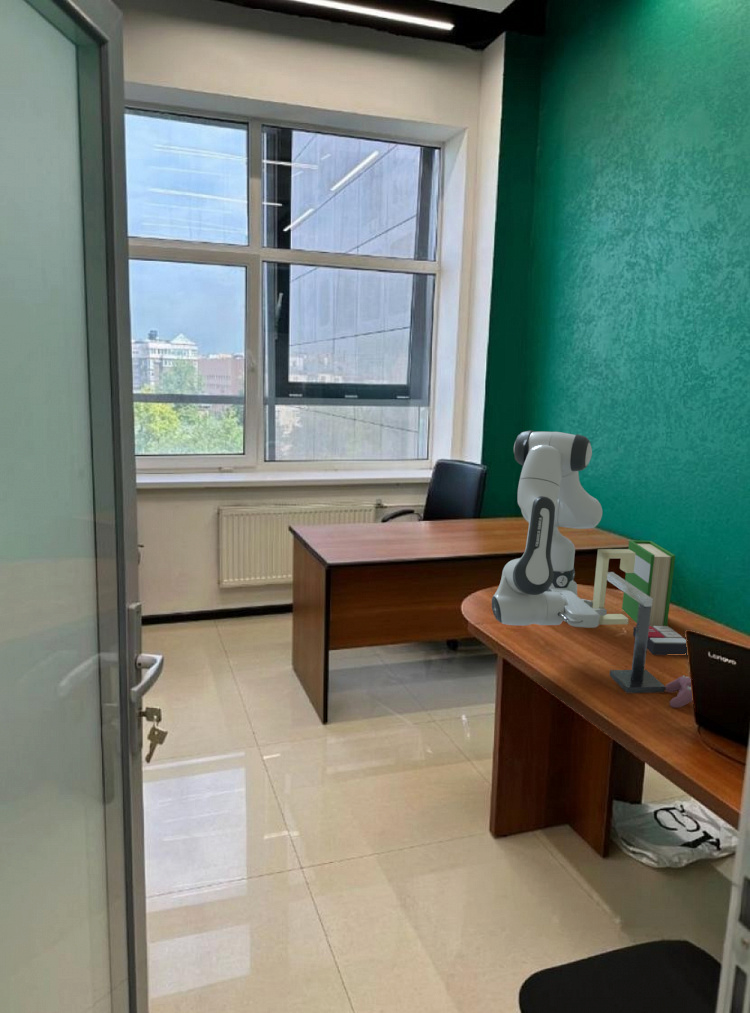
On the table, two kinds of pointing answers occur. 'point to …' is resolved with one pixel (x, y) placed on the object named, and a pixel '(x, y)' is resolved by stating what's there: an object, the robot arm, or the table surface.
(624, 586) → the hook stand
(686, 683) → the video game controller
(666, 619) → the hardback book
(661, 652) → the calculator
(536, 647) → the table surface
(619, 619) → the c-shaped bracket
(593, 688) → the table surface
